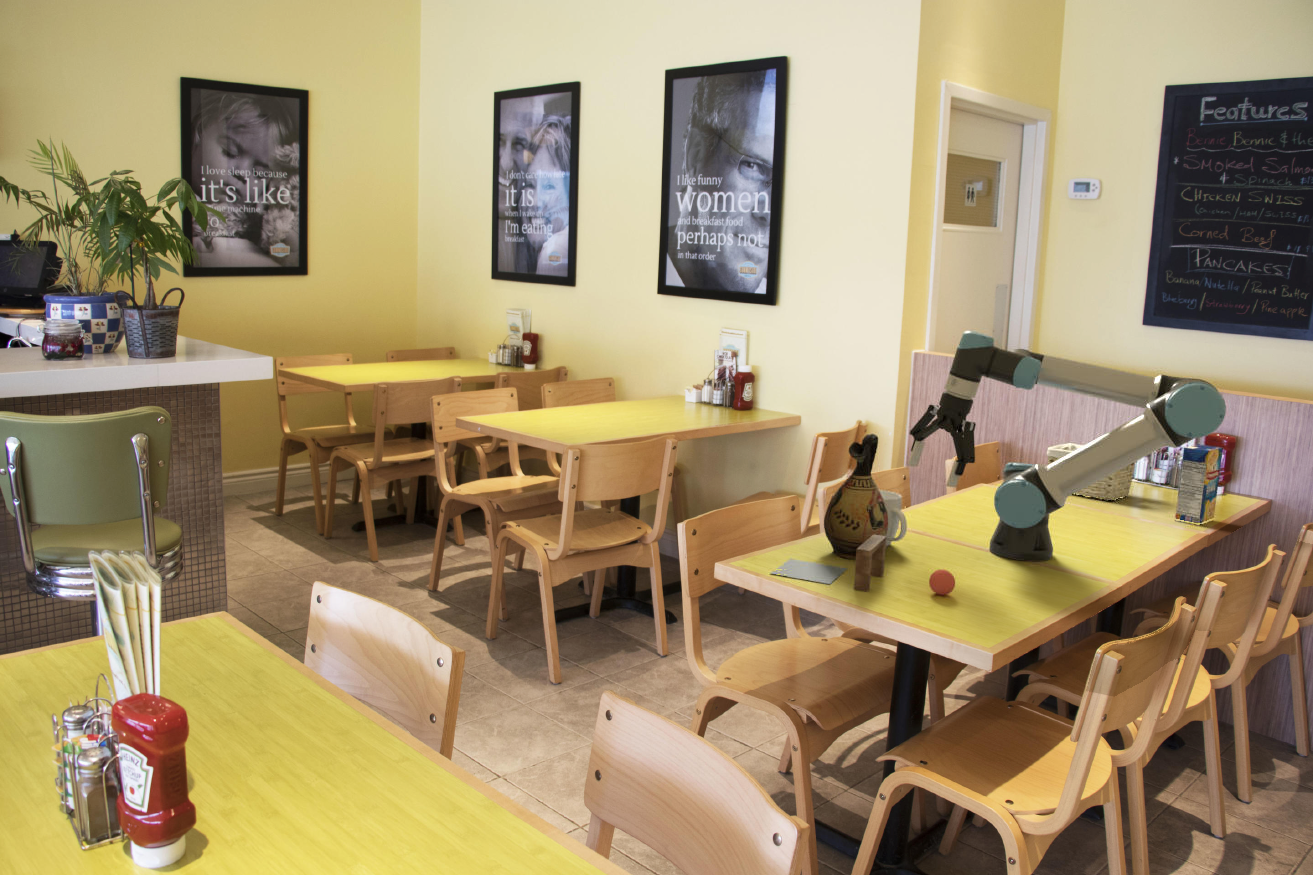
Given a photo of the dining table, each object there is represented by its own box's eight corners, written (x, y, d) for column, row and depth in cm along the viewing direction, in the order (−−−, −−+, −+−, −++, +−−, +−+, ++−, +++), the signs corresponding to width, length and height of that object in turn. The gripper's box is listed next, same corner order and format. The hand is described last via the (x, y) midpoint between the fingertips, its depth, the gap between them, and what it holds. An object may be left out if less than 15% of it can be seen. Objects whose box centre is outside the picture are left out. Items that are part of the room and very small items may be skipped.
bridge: (883, 574, 237) (886, 536, 236) (867, 591, 224) (870, 550, 223) (870, 572, 239) (873, 534, 237) (853, 589, 226) (856, 548, 224)
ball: (956, 593, 226) (958, 568, 225) (951, 599, 221) (953, 575, 220) (930, 588, 228) (932, 564, 227) (925, 595, 223) (927, 571, 222)
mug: (918, 550, 260) (922, 499, 257) (887, 555, 254) (891, 504, 251) (875, 536, 272) (879, 487, 270) (845, 540, 266) (848, 491, 264)
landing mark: (847, 569, 241) (847, 568, 241) (829, 584, 228) (829, 583, 228) (790, 559, 247) (790, 558, 247) (770, 574, 234) (770, 573, 234)
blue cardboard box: (1174, 520, 303) (1183, 447, 299) (1189, 515, 310) (1198, 444, 306) (1198, 525, 298) (1208, 451, 294) (1213, 520, 305) (1223, 447, 301)
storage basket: (1040, 490, 340) (1045, 446, 337) (1062, 484, 351) (1067, 441, 349) (1113, 504, 323) (1118, 458, 320) (1134, 497, 334) (1139, 453, 332)
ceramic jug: (872, 567, 243) (882, 442, 238) (812, 555, 251) (820, 434, 246) (896, 552, 257) (906, 434, 252) (838, 541, 265) (846, 426, 260)
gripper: (912, 377, 257) (886, 456, 262) (986, 410, 237) (957, 494, 242) (933, 380, 261) (907, 458, 266) (1008, 412, 241) (978, 496, 246)
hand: (931, 476), depth 254 cm, fingers open, 13 cm apart
